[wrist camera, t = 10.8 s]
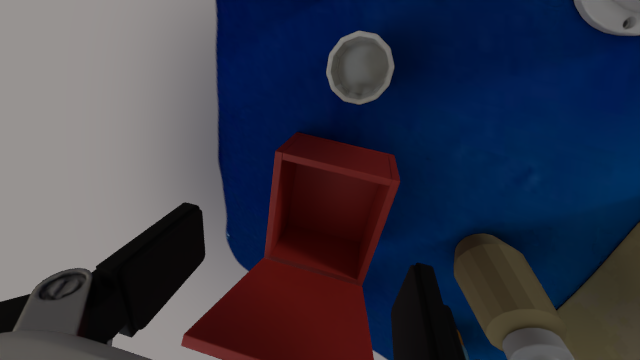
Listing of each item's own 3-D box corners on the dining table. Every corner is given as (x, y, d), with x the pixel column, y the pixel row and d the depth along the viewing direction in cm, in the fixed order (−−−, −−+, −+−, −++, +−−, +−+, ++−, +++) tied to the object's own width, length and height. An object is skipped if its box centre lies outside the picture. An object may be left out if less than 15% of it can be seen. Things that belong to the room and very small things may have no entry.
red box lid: (183, 334, 16) (163, 414, 16) (380, 400, 14) (357, 487, 15) (263, 257, 31) (253, 298, 31) (362, 286, 30) (351, 329, 30)
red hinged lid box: (296, 131, 32) (275, 150, 25) (394, 155, 31) (400, 181, 24) (283, 222, 38) (264, 257, 31) (363, 244, 37) (361, 286, 30)
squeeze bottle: (441, 269, 36) (495, 432, 20) (451, 223, 33) (524, 374, 17) (503, 275, 35) (615, 457, 19) (520, 227, 31) (674, 399, 15)
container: (342, 33, 26) (334, 25, 21) (396, 44, 26) (402, 38, 20) (331, 90, 29) (321, 96, 24) (380, 101, 28) (382, 109, 23)
